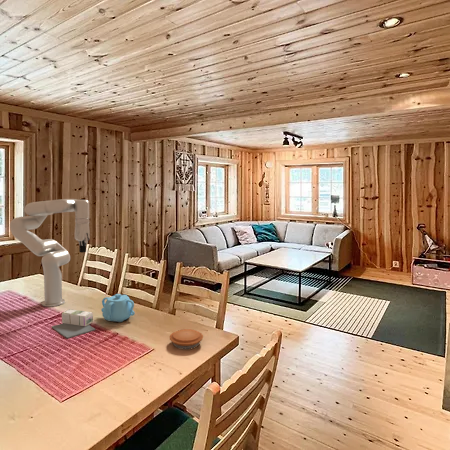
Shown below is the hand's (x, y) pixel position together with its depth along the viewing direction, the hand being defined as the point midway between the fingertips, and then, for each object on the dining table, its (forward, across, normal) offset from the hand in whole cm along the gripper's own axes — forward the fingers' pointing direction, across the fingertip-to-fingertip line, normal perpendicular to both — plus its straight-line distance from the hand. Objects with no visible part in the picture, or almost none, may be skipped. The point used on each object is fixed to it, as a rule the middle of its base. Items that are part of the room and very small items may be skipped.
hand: (82, 252), depth 195 cm
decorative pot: (+33, +30, +5) cm, 45 cm away
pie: (+34, +79, +11) cm, 87 cm away
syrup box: (+30, +16, -17) cm, 38 cm away
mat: (+33, +27, -18) cm, 46 cm away
